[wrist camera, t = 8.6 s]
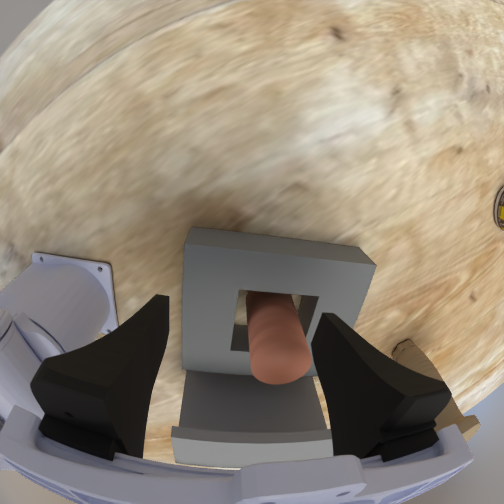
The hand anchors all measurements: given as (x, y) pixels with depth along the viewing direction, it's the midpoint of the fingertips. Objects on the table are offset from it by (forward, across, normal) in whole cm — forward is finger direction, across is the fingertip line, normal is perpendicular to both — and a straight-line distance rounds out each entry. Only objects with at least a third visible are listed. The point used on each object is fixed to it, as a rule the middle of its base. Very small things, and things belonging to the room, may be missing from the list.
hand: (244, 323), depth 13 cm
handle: (+10, -21, +11) cm, 26 cm away
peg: (+10, -3, +5) cm, 12 cm away
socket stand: (+10, -3, +8) cm, 13 cm away
